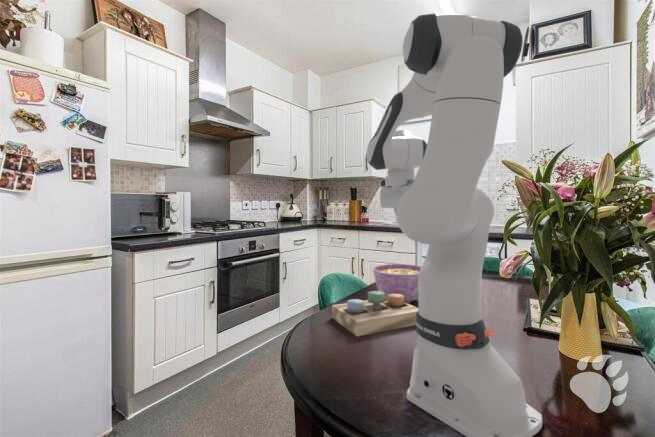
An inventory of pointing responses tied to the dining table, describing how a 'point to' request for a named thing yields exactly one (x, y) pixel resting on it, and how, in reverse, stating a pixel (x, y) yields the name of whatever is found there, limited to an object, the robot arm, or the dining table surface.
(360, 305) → the button slate
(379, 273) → the bowl of food
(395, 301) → the button terracotta
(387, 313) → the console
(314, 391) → the dining table surface
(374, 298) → the button green
